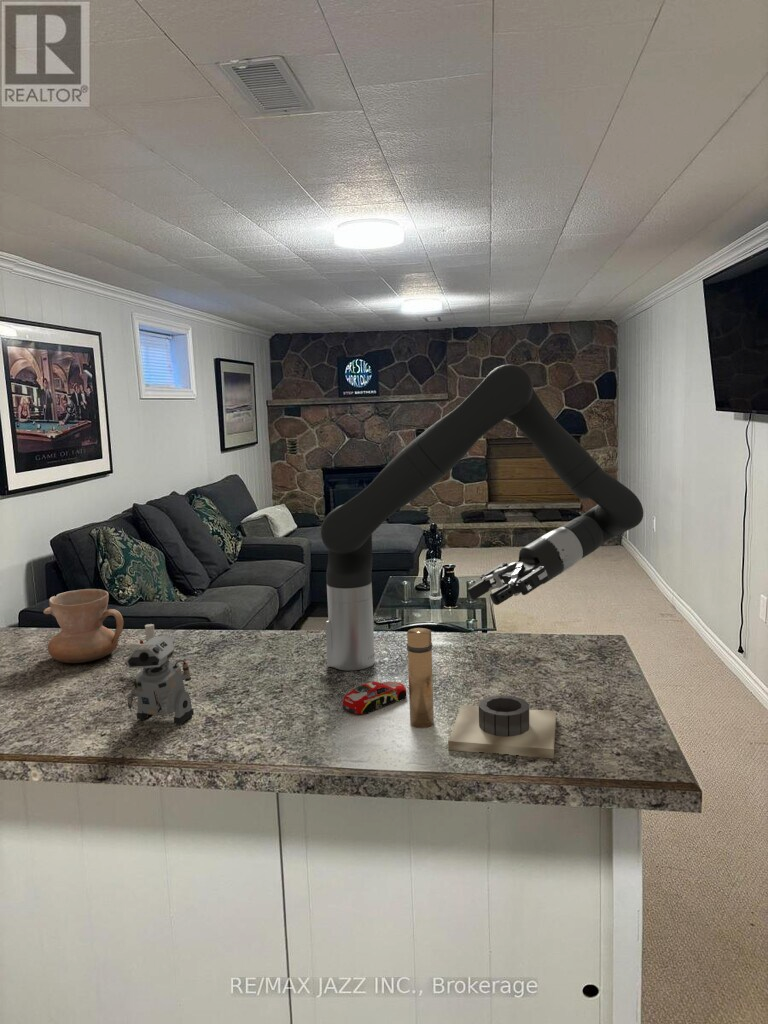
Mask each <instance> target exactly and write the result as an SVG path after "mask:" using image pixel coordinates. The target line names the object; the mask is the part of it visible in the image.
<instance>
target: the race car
mask: <svg viewBox="0 0 768 1024" xmlns="http://www.w3.org/2000/svg"><path fill="white" fill-rule="evenodd" d="M407 694H408V693H407V688H406V686H405V685H404V684H403V683H401V682H397V681H383V682H378V681H368V682H365V683H362V684H361V685H359V686H356V687H355V688H353V689H352V690H351V691H349V692H347V693H346V694H345V695H343V699H342V709H343V710H345V711H348V712H350V713H351V714H357V715H364V714H365V715H367V714H370V713H373V712H374V710H378V709H381V708H383V707H386V706H388V705H391V704H393V703H396V702H398V700H399V702H401V701H403V700H405V699H406V697H407ZM402 699H403V700H402ZM400 700H401V701H400Z"/></svg>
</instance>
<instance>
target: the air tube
mask: <svg viewBox="0 0 768 1024" xmlns="http://www.w3.org/2000/svg"><path fill="white" fill-rule="evenodd" d="M406 633H407V634H406V636H407V637H406V639H407V640H406V641H407V643H406V649H407V663H408V664H407V666H408V667H407V668H408V669H407V670H408V672H407V673H408V694H409V695H408V696H409V699H408V701H409V723H410V726H411V727H414V728H417V729H426V728H431V727H432V726H434V724H435V720H434V718H435V717H434V715H435V713H434V712H435V710H434V686H433V685H434V681H433V679H434V676H433V642H432V630H431V629H428V628H423V627H414V628H411V629H409V630H407V631H406Z"/></svg>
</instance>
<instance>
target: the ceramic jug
mask: <svg viewBox="0 0 768 1024" xmlns="http://www.w3.org/2000/svg"><path fill="white" fill-rule="evenodd" d="M109 596H110V595H109V592H108V591H107V590H104V589H100V588H98V589H97V588H85V589H77V590H69V591H65V592H61V593H58V594H56V596H55V595H54V596H53V595H52V596H51V597H50V598H49V599H48V600H49V601H48V603H49V607H47V608H45V609H44V610H43V614H45V615H52V616H53V617H55V619H56V621H57V624H58V625H59V627H60V629H61V631H59V632H58V633H57V634H56V635H55V636H54V637H52V638H51V639H50V640H48V641H49V642H48V645H47V652H48V654H49V656H50V657H51V658H52V659H54V660H55V661H58V662H61V663H65V664H66V663H67V664H82V663H88V662H93V661H96V660H100V659H102V658H105V657H106V656H108V655H110V654H112V652H114V651H115V650H116V649H117V647H118V644H119V639H120V636H121V635H122V632H123V630H124V629H123V628H124V618H123V616H122V615H123V614H121V612H120V611H118V610H117V609H114V608H113V609H112V608H109V609H108V603H109V598H110V597H109ZM109 616H113V617H114V618H115V625H116V627H115V628H116V629H115V631H113V629H110V628H107V627H105V626H104V625H103V623H104V621H105V620H106V618H108V617H109Z"/></svg>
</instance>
